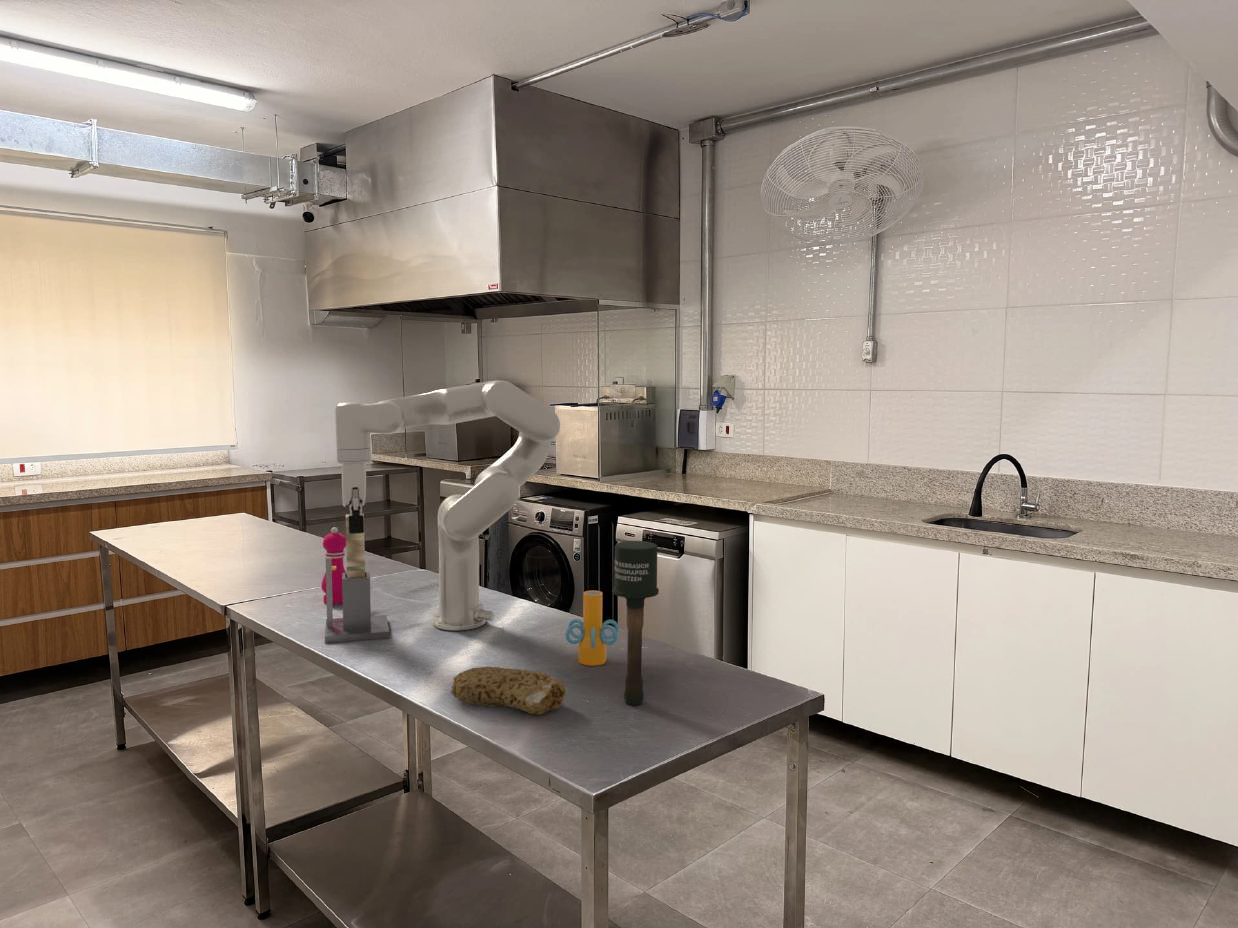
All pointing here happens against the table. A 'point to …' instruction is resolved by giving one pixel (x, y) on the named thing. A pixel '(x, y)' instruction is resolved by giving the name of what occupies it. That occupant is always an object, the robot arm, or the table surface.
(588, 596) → the orange tube with rings
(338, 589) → the pepper mill
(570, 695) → the table surface
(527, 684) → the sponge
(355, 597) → the grey socket stand
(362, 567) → the post
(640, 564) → the stick grenade
